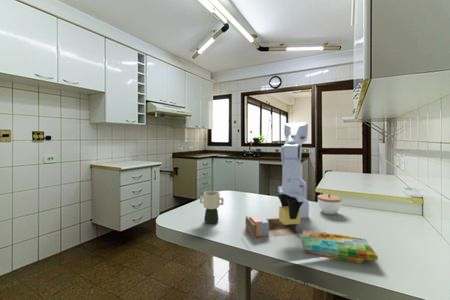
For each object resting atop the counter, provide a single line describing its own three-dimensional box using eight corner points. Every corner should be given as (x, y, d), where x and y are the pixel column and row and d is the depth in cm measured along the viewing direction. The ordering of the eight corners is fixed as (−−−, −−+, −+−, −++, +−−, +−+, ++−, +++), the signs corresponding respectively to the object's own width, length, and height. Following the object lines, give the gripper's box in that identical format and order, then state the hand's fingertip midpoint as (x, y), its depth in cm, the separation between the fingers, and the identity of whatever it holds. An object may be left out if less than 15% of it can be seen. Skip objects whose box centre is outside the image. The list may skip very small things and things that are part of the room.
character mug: (225, 220, 98) (225, 191, 97) (221, 226, 91) (221, 195, 90) (202, 217, 101) (202, 190, 100) (196, 223, 94) (196, 193, 93)
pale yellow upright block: (278, 220, 78) (279, 206, 78) (294, 219, 80) (294, 205, 79) (284, 224, 74) (284, 210, 74) (300, 223, 76) (300, 209, 76)
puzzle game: (302, 227, 79) (365, 235, 73) (302, 240, 80) (365, 249, 73) (303, 242, 68) (377, 253, 62) (302, 256, 68) (377, 269, 62)
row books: (262, 228, 87) (262, 215, 86) (268, 235, 81) (269, 220, 81) (249, 230, 86) (249, 216, 85) (255, 236, 80) (255, 222, 79)
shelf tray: (292, 225, 92) (292, 212, 92) (305, 234, 83) (305, 220, 83) (245, 230, 87) (245, 216, 87) (253, 240, 79) (253, 225, 78)
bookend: (294, 225, 90) (295, 216, 90) (303, 232, 84) (304, 221, 84) (287, 226, 89) (287, 216, 89) (295, 232, 83) (295, 222, 83)
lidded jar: (312, 210, 113) (313, 192, 112) (329, 208, 116) (329, 190, 116) (328, 217, 103) (328, 197, 102) (345, 214, 106) (346, 195, 106)
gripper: (271, 175, 82) (270, 210, 83) (291, 182, 68) (290, 225, 69) (287, 174, 84) (287, 209, 85) (311, 182, 70) (309, 223, 71)
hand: (289, 216), depth 77 cm, fingers closed on pale yellow upright block, 4 cm apart
